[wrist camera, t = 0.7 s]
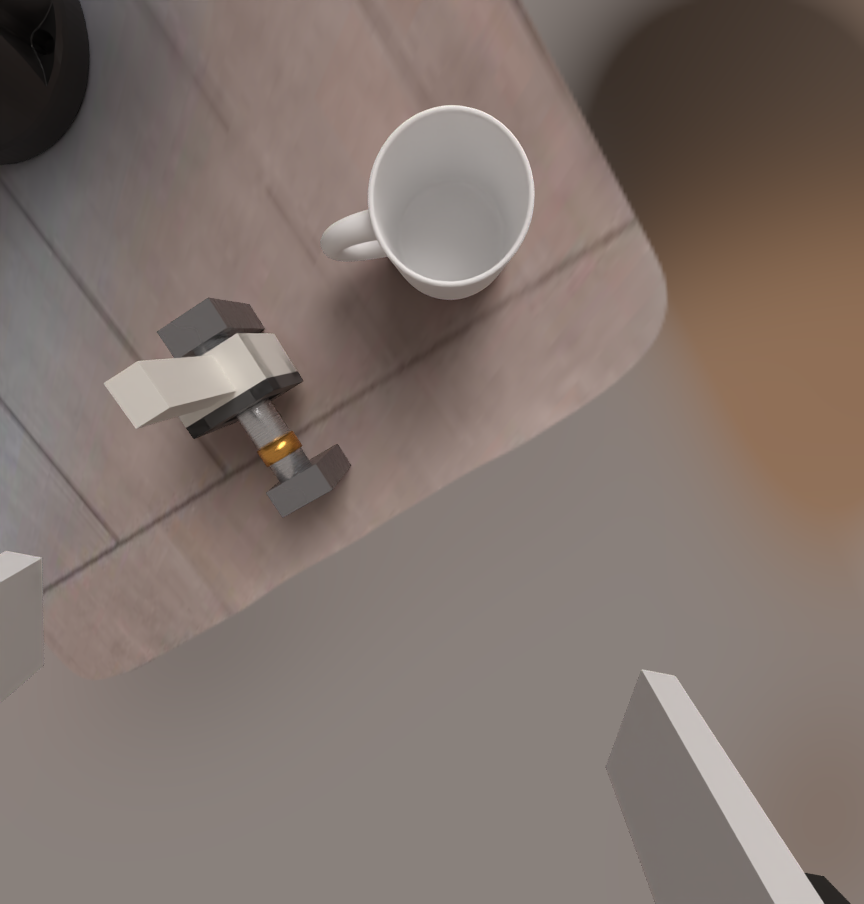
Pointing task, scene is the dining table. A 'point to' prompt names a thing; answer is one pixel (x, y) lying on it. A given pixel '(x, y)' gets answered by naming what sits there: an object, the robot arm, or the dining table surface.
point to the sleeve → (205, 384)
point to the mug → (442, 203)
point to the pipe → (258, 407)
